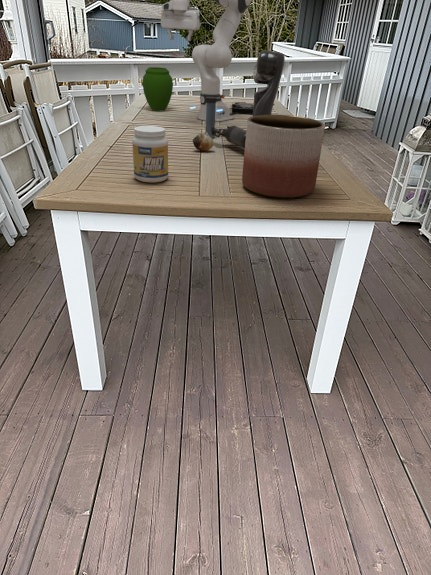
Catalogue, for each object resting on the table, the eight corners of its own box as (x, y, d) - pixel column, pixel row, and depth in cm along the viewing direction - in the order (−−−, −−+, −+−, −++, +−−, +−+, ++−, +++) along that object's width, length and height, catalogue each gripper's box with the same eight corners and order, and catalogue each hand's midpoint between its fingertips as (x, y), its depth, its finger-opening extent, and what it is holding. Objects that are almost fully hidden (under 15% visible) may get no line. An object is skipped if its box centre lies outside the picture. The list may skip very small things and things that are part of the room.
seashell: (212, 149, 186) (213, 131, 181) (214, 152, 181) (215, 133, 177) (191, 149, 184) (192, 130, 180) (193, 152, 180) (193, 133, 175)
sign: (232, 108, 269) (231, 101, 294) (232, 113, 270) (230, 106, 296) (261, 109, 269) (257, 102, 295) (260, 114, 271) (257, 107, 296)
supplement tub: (139, 184, 140) (136, 133, 131) (130, 174, 149) (127, 125, 140) (173, 181, 144) (172, 131, 135) (162, 172, 153) (161, 124, 144)
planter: (325, 200, 135) (339, 130, 123) (251, 201, 131) (257, 128, 119) (299, 176, 156) (309, 114, 144) (234, 177, 152) (239, 113, 140)
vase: (143, 107, 275) (142, 66, 262) (173, 108, 277) (172, 67, 264) (142, 112, 259) (140, 68, 246) (173, 113, 261) (173, 70, 248)
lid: (218, 101, 200) (218, 97, 199) (213, 103, 195) (214, 98, 194) (208, 100, 201) (208, 96, 200) (203, 102, 197) (203, 97, 196)
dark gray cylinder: (215, 137, 208) (217, 98, 199) (212, 138, 205) (213, 99, 195) (207, 136, 210) (208, 97, 200) (203, 137, 206) (204, 98, 196)
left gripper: (202, 7, 194) (201, 41, 201) (165, 6, 201) (166, 39, 208) (196, 6, 189) (195, 41, 196) (158, 5, 196) (159, 38, 203)
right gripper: (251, 126, 186) (233, 120, 198) (224, 128, 180) (207, 121, 192) (249, 143, 190) (232, 136, 202) (223, 145, 184) (206, 138, 196)
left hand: (180, 40), depth 202 cm, fingers open, 8 cm apart
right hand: (219, 129), depth 197 cm, fingers open, 8 cm apart
